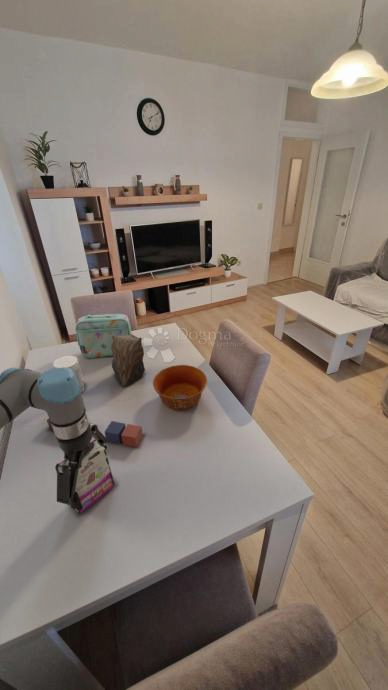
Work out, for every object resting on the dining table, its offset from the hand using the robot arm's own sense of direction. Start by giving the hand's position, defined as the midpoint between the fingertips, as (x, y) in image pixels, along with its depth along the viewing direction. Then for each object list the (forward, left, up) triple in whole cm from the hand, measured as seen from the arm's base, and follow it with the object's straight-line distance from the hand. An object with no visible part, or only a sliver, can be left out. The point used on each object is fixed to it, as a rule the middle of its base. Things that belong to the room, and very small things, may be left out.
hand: (90, 485), depth 75 cm
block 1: (-25, +20, -4) cm, 32 cm away
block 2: (-3, +20, -4) cm, 21 cm away
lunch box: (-34, +70, -4) cm, 78 cm away
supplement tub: (-33, +39, -4) cm, 51 cm away
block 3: (+3, +20, -4) cm, 21 cm away
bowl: (+13, +44, -4) cm, 46 cm away
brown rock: (-14, +52, -4) cm, 54 cm away
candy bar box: (0, 0, -5) cm, 5 cm away
